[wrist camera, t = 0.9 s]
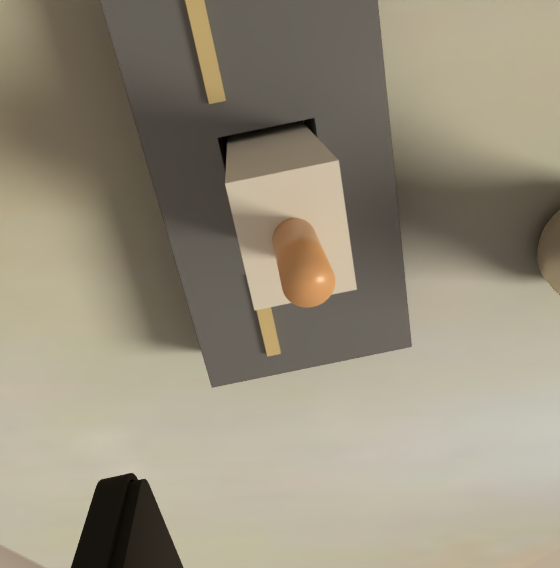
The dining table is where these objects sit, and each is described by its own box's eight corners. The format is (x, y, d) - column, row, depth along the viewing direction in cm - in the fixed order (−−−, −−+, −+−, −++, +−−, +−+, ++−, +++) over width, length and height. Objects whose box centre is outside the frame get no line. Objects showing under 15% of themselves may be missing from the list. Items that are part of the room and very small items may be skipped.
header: (108, -27, 26) (86, -40, 22) (349, -76, 26) (369, -98, 22) (214, 352, 35) (211, 390, 31) (393, 315, 35) (413, 349, 31)
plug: (227, 133, 29) (223, 216, 15) (299, 118, 29) (364, 187, 15) (246, 219, 31) (259, 367, 17) (313, 205, 31) (384, 341, 17)
